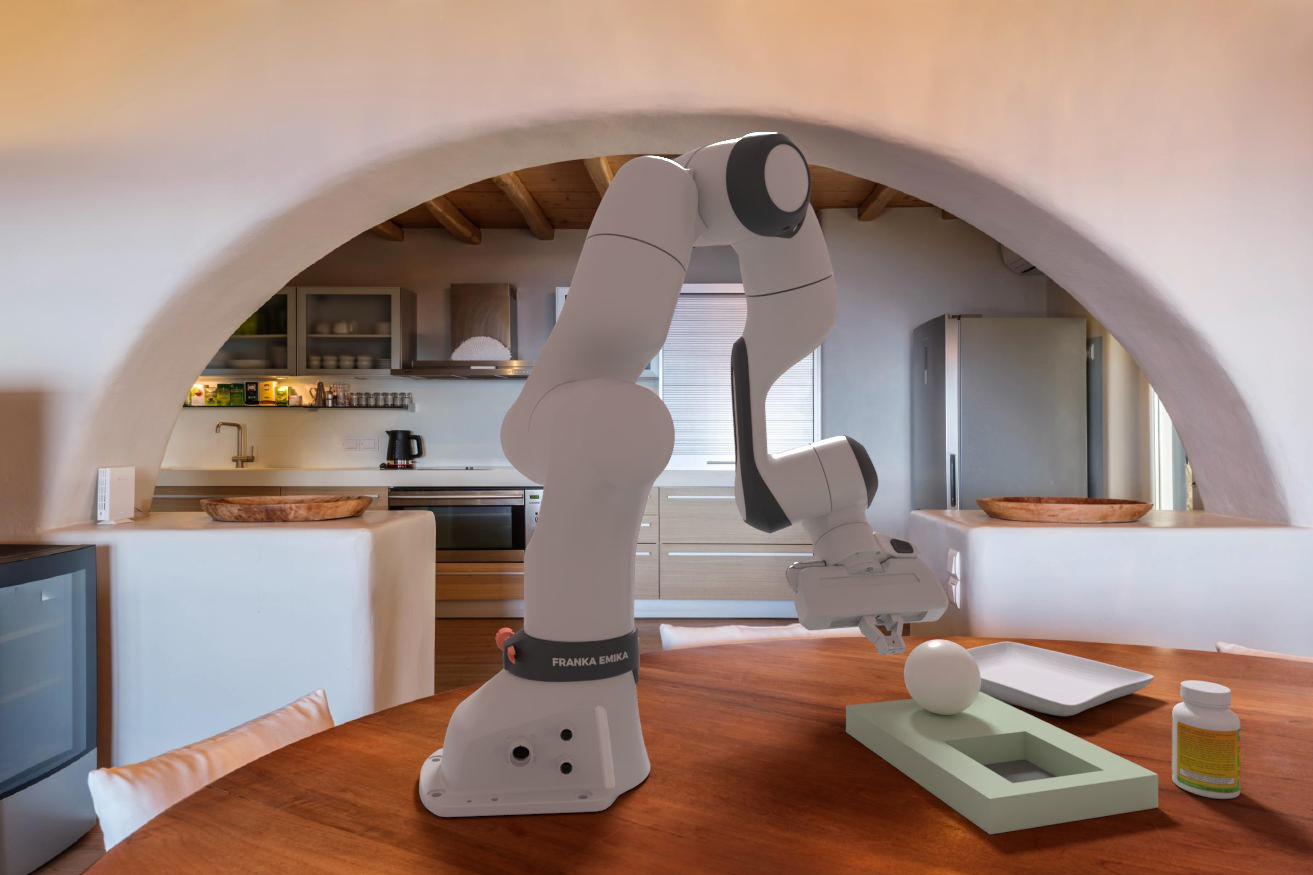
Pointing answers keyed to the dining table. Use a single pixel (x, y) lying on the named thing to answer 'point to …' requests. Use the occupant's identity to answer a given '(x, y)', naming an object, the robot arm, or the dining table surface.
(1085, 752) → the putting deck
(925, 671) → the ball
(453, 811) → the robot arm
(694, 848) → the dining table surface
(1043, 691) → the salad plate
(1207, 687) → the supplement bottle
